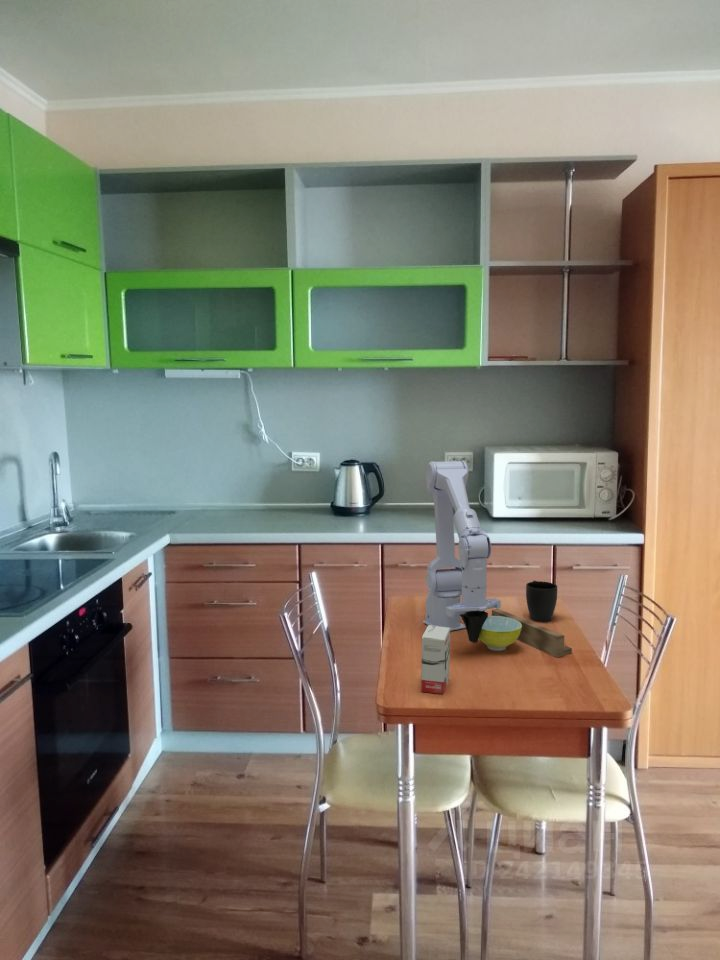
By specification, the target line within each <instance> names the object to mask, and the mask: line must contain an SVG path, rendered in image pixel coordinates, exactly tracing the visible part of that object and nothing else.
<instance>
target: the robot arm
mask: <svg viewBox="0 0 720 960" xmlns="http://www.w3.org/2000/svg"><path fill="white" fill-rule="evenodd" d="M425 479H426V482H425V483H426V489H427V493H429V494H431V495H432V496H433V497H432V499H433V504H434V506H433V507H434V523H435V525H434V526H435V528H434V529H435V540H436V541H435V543H436V546H435V547H436V557H435V558H434V559H433V560H431V561H430V562H429V563H428V565H427V567H426V577H425V578H426V579H425V580H426V583H425V584H426V588H427V591H428V594H427V596H426V599H425V620H422V623H423V624H425V625H427V626H428V625H433V626H439V627H447V628H450V632H453V631H457V630H463V629H466V632H467V638H468V641H469V642H471V643H472V644H475V643H479V640H480V639H479V635H480V632H481V629H482V626H483V624H484V622H485V621H486V619H487V618H488V616H489V613H488V612H487V611H488V610H493V609H501V607H502V606H501V603H502V601H501V599H498V598H496V597H495V598H487V576H488V575H487V570H488V569H487V562H488V560H487V559H489V558H490V557H491V555H492V543H491V539H490V536H489V535H488V534H487V533H486V532H485V530H483V529H482V527H481V523H480V521H479V518H478V515H477V512H476V511H475V510H474V509H473V508H470V502H469V499H468V494H467V489H466V486H467V484H468V480H469V466H468V464H467V463H466V461H465V460H455V461H453V460H452V461H448V460H447V461H429V463H427V466H426V470H425ZM453 510H454V511H455V513H454V511H453ZM455 530H456V532H457V533H456V534H457V536H458V545H457V551H458V554H459V558H458V557H457V556H456V545H455ZM461 619H462V621H463V623H462V622H461Z"/></svg>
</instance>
